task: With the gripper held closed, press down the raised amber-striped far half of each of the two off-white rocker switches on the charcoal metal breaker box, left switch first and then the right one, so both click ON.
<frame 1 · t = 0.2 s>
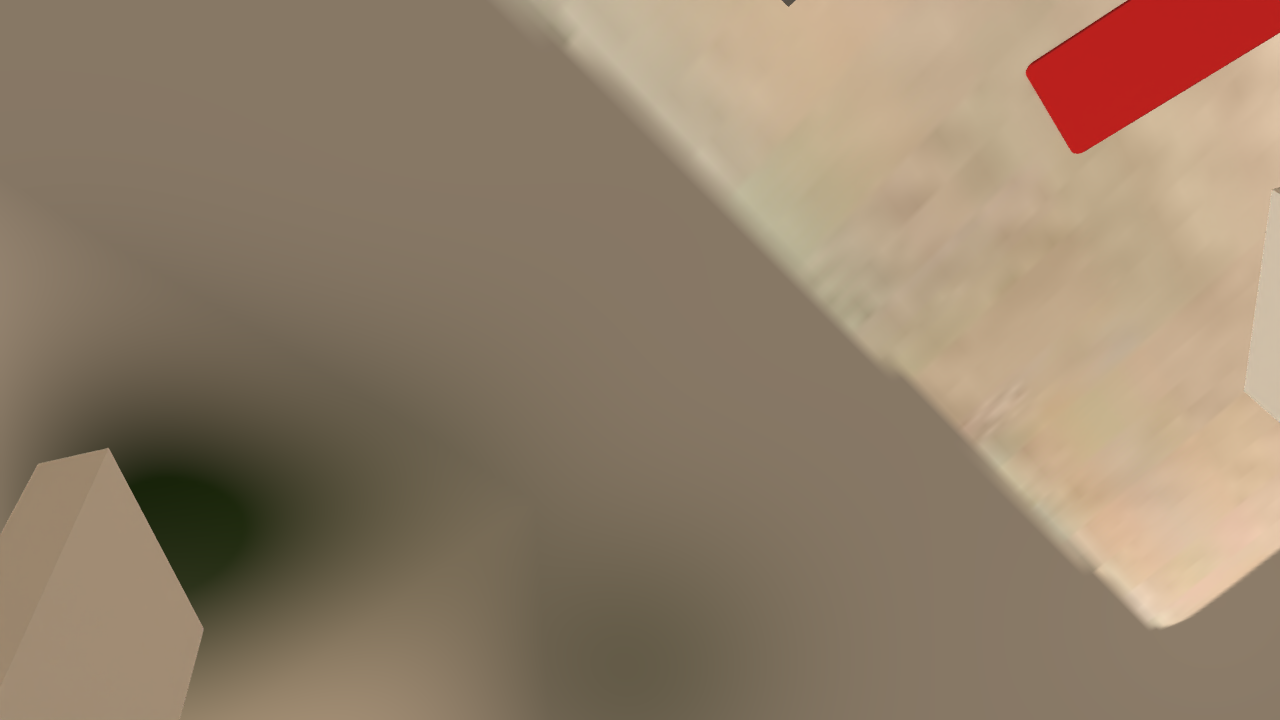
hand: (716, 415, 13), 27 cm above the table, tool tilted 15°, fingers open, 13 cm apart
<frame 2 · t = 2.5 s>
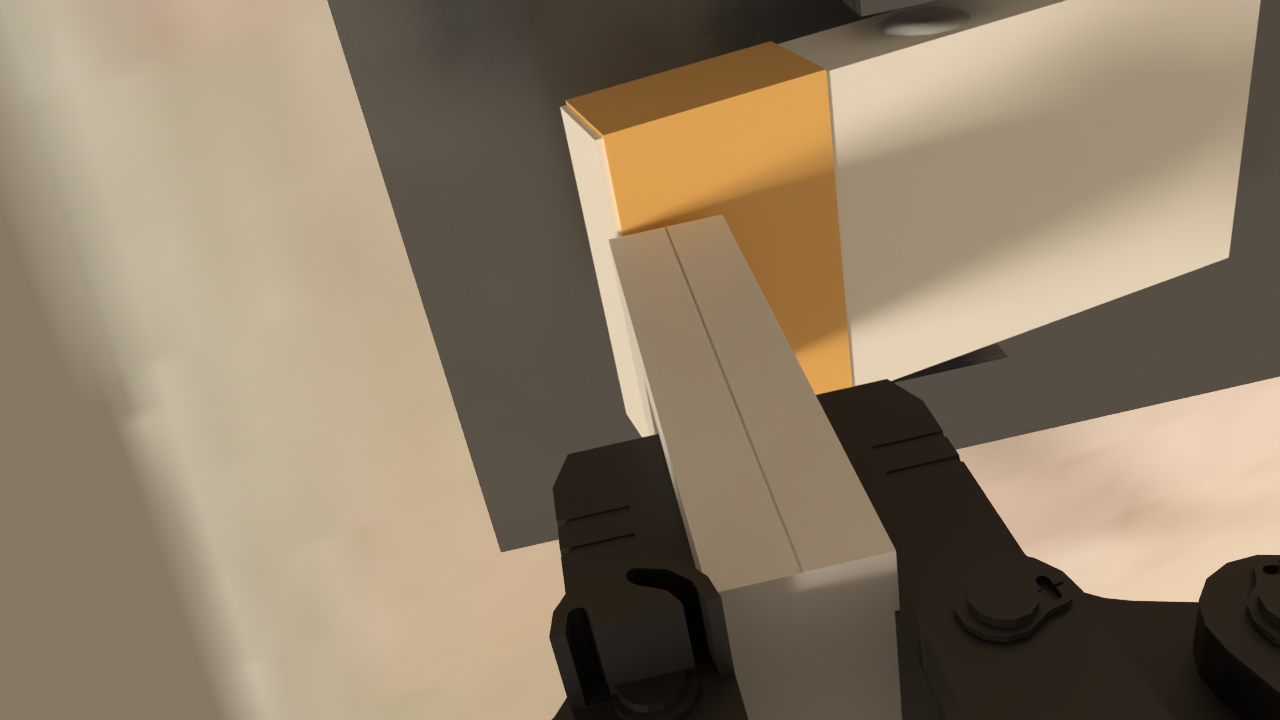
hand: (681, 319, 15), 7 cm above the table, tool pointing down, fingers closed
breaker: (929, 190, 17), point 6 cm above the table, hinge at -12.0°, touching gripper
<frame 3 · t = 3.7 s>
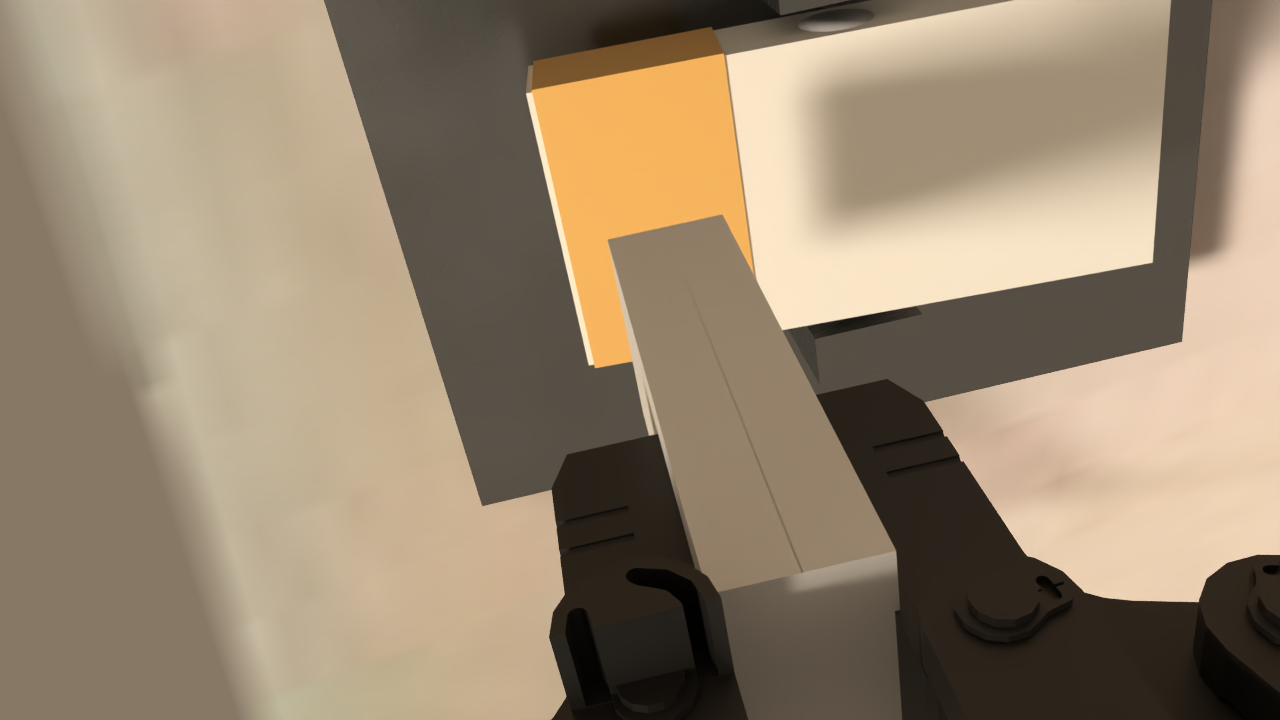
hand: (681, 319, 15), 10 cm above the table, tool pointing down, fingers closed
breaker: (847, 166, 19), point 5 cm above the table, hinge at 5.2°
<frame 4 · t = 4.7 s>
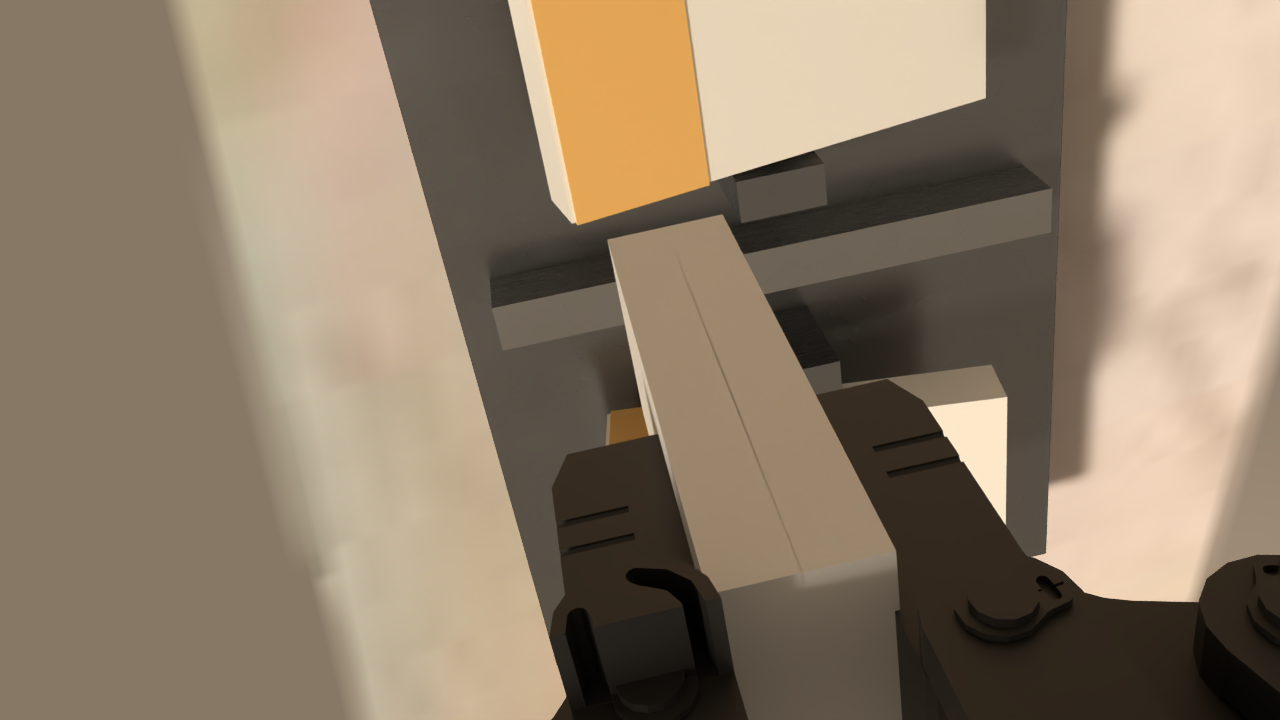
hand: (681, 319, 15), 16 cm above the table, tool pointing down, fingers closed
breaker box: (736, 198, 31), on the table
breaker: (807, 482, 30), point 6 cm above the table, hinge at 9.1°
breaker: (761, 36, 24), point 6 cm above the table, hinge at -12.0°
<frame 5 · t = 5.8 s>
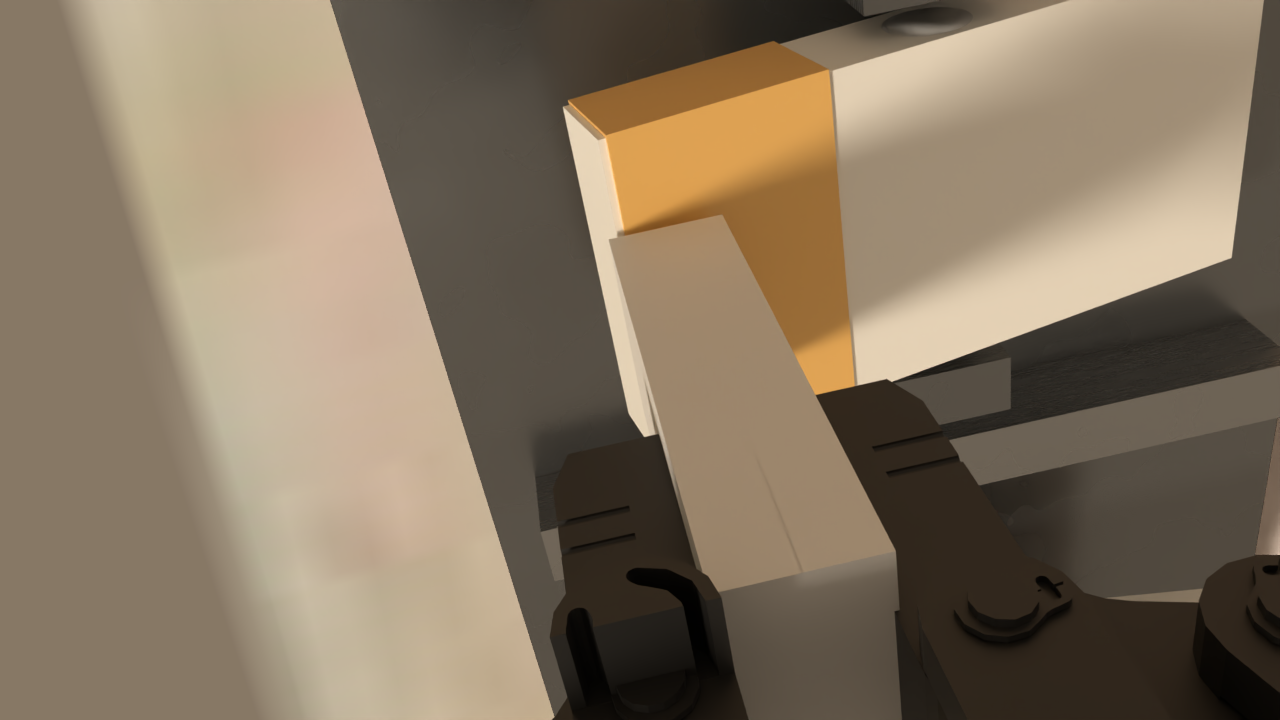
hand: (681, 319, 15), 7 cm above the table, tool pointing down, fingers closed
breaker box: (849, 345, 24), on the table
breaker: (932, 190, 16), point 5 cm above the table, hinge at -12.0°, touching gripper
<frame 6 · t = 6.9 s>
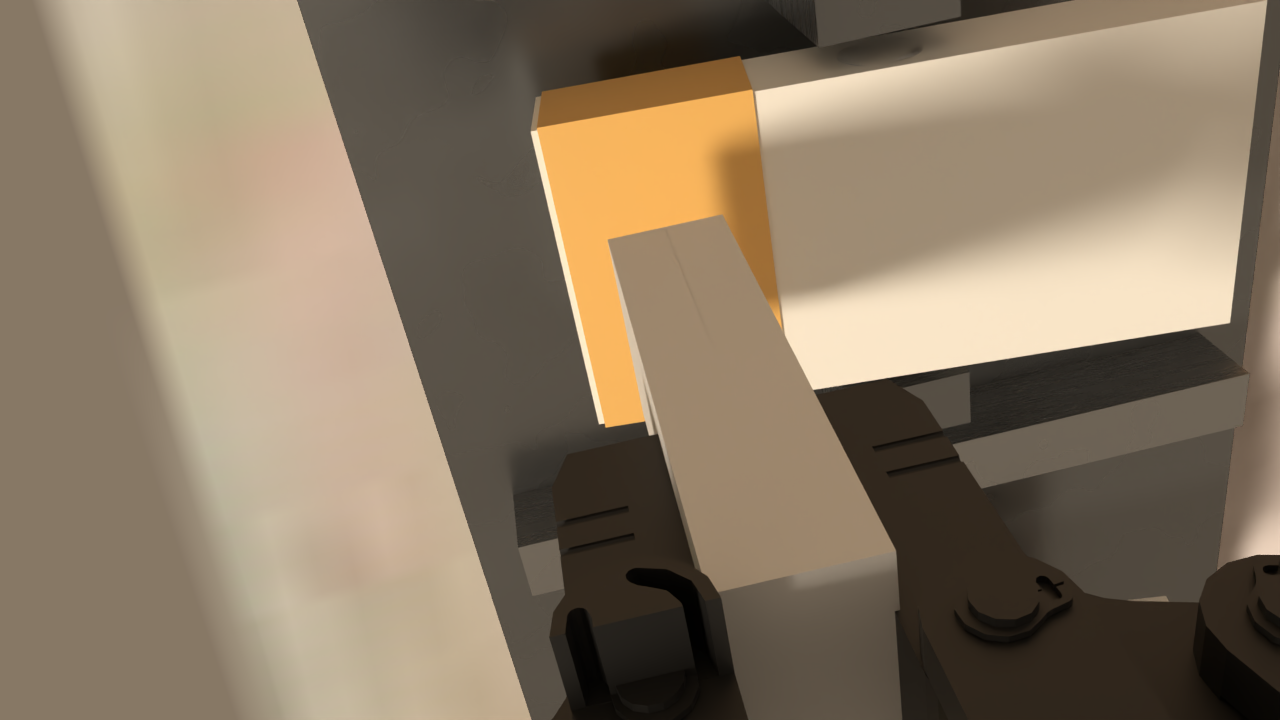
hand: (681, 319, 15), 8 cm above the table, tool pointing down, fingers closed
breaker box: (819, 363, 25), on the table
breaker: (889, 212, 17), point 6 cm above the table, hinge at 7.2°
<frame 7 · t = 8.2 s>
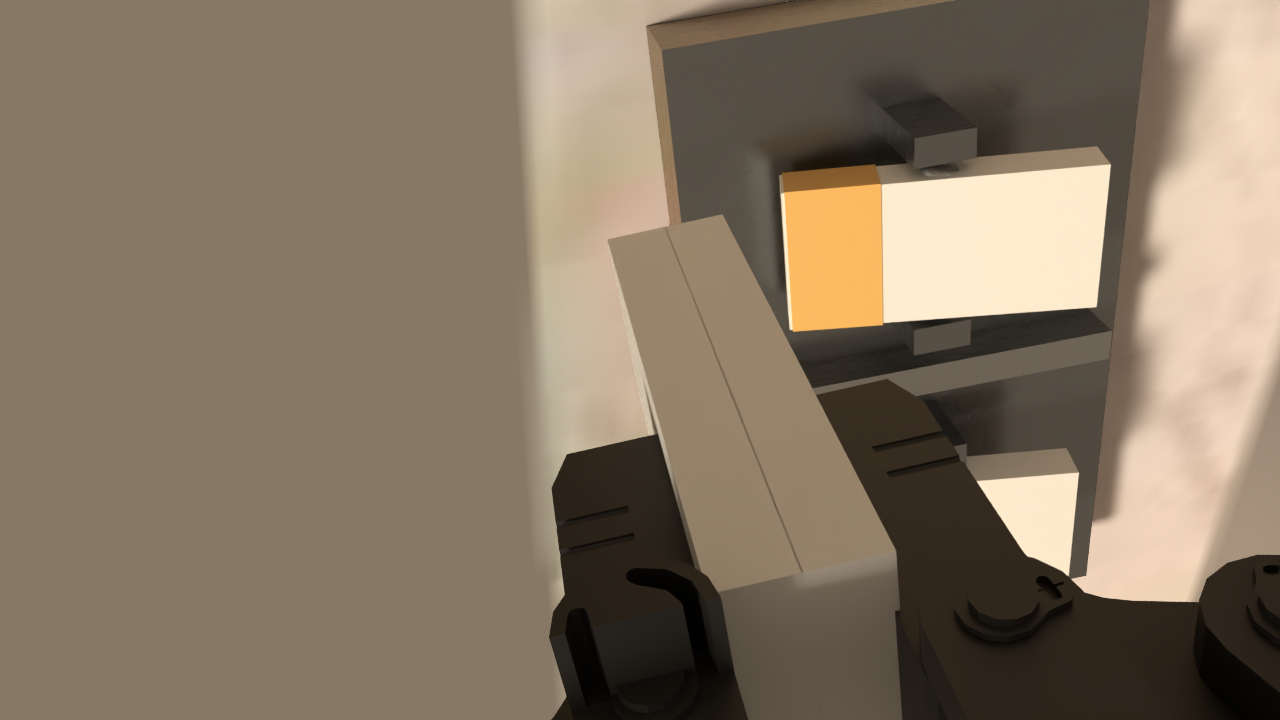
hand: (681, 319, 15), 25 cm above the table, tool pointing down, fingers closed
breaker box: (883, 320, 45), on the table
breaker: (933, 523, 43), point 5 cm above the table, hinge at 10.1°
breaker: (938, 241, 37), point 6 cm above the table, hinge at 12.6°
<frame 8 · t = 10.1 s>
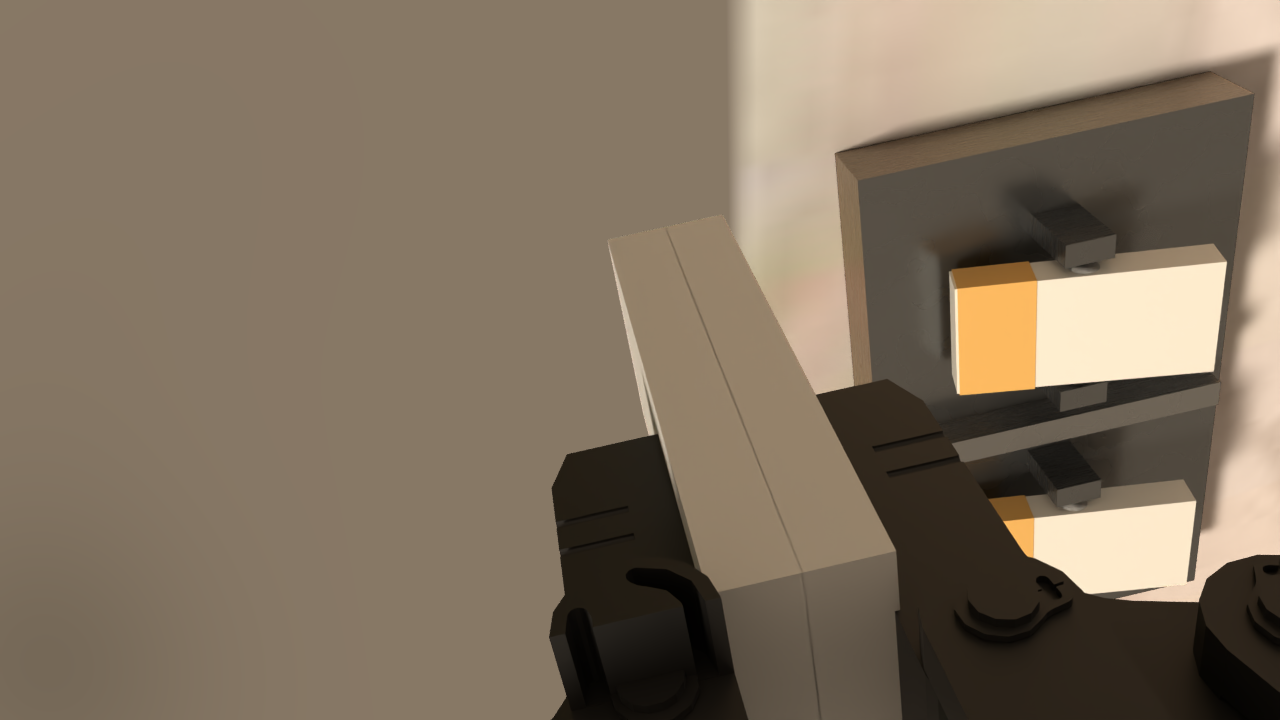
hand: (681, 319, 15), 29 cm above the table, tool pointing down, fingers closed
breaker box: (1020, 373, 53), on the table
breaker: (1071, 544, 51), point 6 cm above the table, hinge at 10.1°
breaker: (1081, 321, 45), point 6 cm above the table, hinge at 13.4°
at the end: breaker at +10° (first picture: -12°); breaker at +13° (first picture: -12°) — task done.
